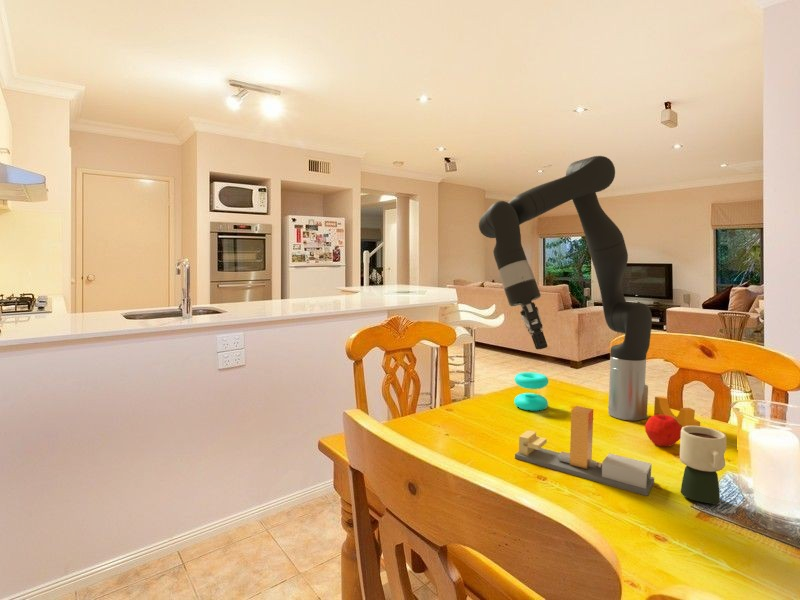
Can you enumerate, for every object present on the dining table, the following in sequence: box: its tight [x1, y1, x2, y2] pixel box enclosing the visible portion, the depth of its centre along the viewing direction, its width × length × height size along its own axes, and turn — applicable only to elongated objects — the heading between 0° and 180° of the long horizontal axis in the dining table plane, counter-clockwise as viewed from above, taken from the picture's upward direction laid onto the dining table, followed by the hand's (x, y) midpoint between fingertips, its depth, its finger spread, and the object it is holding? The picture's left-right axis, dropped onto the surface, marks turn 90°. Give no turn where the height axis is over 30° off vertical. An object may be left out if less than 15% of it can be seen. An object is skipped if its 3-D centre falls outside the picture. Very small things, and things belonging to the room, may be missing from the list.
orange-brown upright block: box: [558, 405, 602, 469], centre depth 95 cm, size 16×4×12 cm, turn 51°
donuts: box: [513, 371, 549, 412], centre depth 140 cm, size 10×10×10 cm
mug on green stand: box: [679, 425, 727, 505], centre depth 85 cm, size 11×7×13 cm, turn 172°
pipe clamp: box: [653, 396, 701, 428], centre depth 124 cm, size 12×4×6 cm, turn 6°
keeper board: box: [514, 429, 655, 497], centre depth 98 cm, size 27×7×5 cm, turn 51°
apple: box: [644, 414, 682, 447], centre depth 111 cm, size 8×8×7 cm
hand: (541, 348), depth 105 cm, fingers open, 8 cm apart
